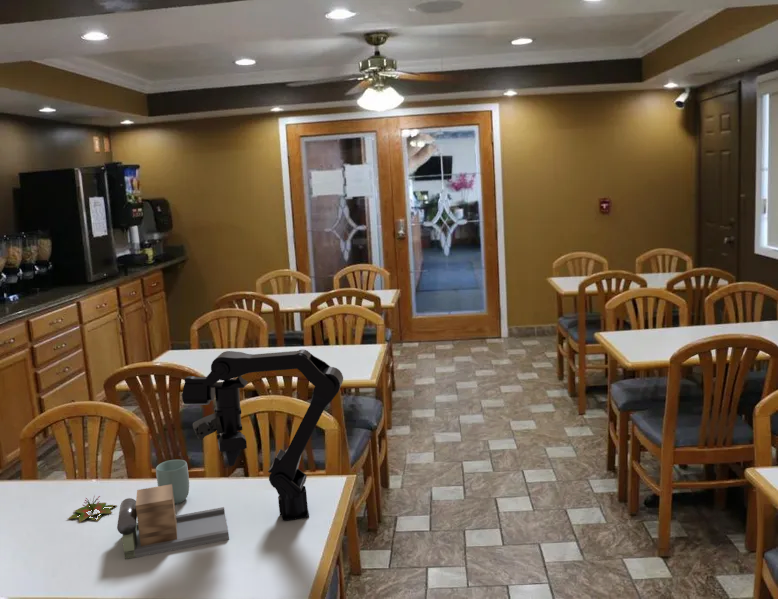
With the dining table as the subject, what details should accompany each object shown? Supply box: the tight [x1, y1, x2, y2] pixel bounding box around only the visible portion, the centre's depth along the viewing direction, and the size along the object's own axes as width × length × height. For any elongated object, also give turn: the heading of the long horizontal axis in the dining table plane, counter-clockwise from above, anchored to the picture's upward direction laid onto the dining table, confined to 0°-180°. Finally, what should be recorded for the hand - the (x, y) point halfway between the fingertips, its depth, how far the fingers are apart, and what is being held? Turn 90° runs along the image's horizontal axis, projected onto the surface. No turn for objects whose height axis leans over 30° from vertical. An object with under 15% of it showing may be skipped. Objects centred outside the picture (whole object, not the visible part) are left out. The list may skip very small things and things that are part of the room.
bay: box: [116, 497, 230, 560], centre depth 175 cm, size 24×14×9 cm, turn 106°
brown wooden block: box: [135, 484, 177, 546], centre depth 174 cm, size 8×9×10 cm
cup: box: [155, 459, 190, 505], centre depth 194 cm, size 8×8×10 cm
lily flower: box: [67, 495, 118, 524], centre depth 191 cm, size 12×12×5 cm
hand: (231, 465), depth 182 cm, fingers closed
